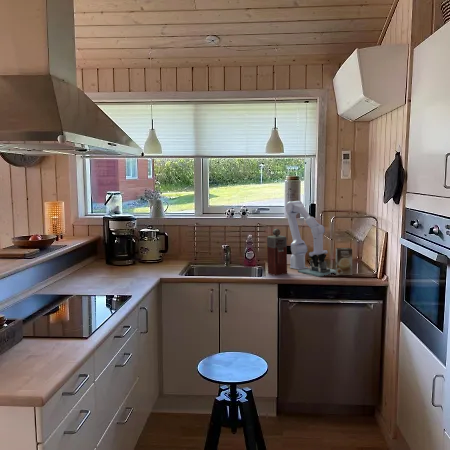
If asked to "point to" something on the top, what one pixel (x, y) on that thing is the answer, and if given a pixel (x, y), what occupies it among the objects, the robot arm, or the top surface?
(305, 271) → the teal square peg board
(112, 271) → the top surface
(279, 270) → the brown tall bottle
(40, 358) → the top surface
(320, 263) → the drive
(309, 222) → the robot arm
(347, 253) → the coffee box
